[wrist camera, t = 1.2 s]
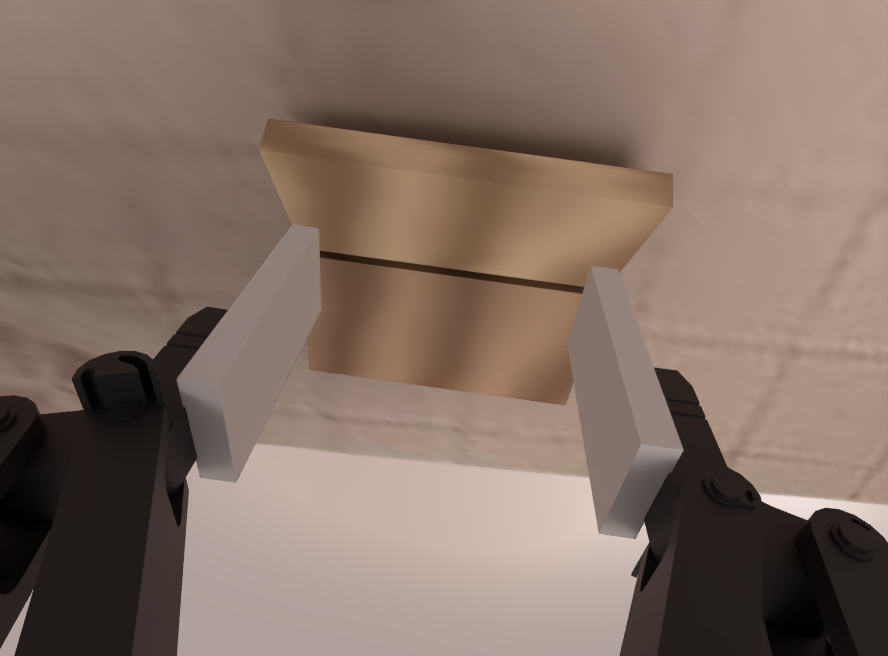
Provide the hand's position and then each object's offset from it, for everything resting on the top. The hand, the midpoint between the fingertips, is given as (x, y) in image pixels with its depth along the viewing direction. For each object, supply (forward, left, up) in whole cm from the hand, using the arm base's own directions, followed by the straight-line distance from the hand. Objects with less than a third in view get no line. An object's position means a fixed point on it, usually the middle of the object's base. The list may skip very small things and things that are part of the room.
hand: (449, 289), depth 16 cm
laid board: (0, -10, -13) cm, 16 cm away
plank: (0, -2, -10) cm, 10 cm away
